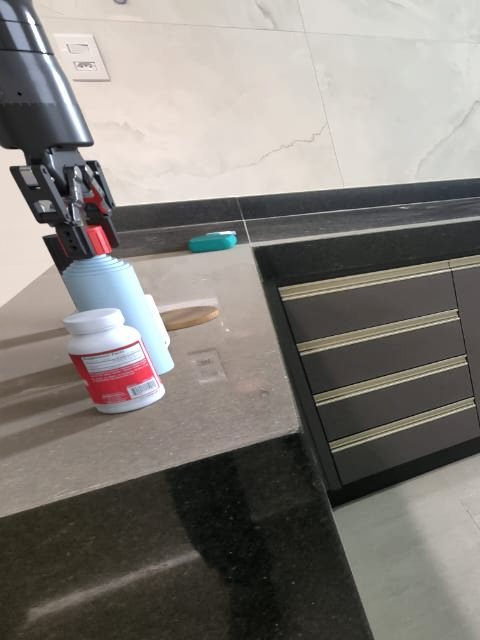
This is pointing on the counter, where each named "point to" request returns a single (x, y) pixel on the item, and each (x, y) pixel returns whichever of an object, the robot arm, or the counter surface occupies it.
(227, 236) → the teal soap bar
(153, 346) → the bottle
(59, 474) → the counter surface
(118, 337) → the pill bottle
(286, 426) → the counter surface
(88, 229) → the cap
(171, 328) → the coaster
